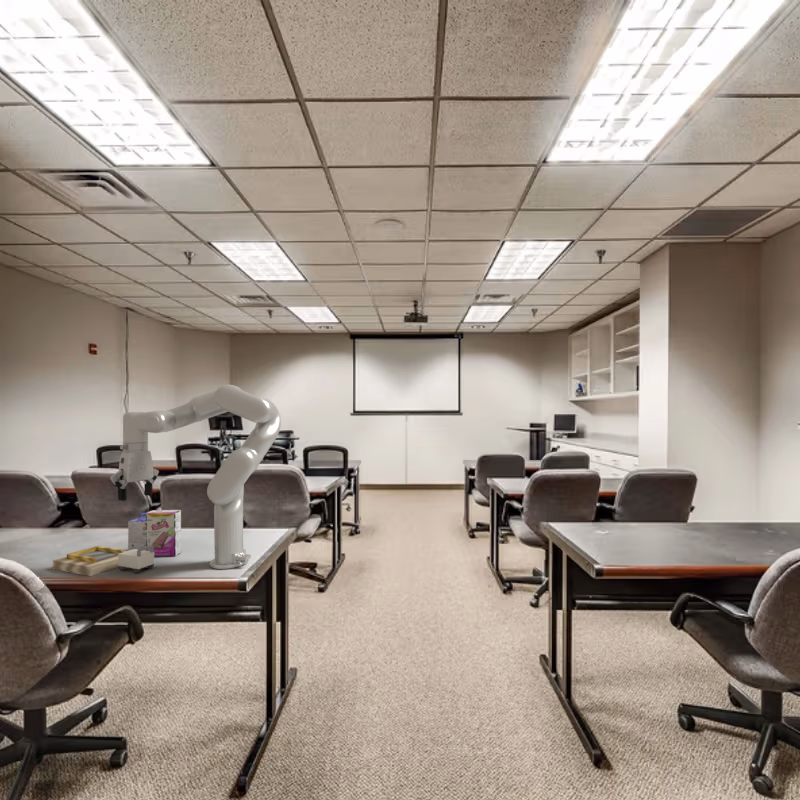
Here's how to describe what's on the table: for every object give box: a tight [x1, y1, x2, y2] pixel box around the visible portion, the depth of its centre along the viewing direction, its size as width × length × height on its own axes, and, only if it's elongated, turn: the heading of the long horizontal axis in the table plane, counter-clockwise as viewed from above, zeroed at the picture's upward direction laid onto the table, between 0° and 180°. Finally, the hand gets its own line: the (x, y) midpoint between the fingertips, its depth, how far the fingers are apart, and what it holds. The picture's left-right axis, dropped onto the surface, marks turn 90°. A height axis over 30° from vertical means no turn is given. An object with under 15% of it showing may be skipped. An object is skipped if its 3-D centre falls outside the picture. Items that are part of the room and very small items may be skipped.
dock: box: [52, 545, 127, 577], centre depth 168 cm, size 20×17×4 cm
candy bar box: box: [145, 509, 182, 558], centre depth 179 cm, size 11×5×16 cm, turn 90°
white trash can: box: [118, 545, 155, 574], centre depth 163 cm, size 10×6×8 cm, turn 66°
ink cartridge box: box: [127, 512, 147, 551], centre depth 185 cm, size 10×6×14 cm, turn 84°
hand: (135, 497), depth 163 cm, fingers open, 9 cm apart
